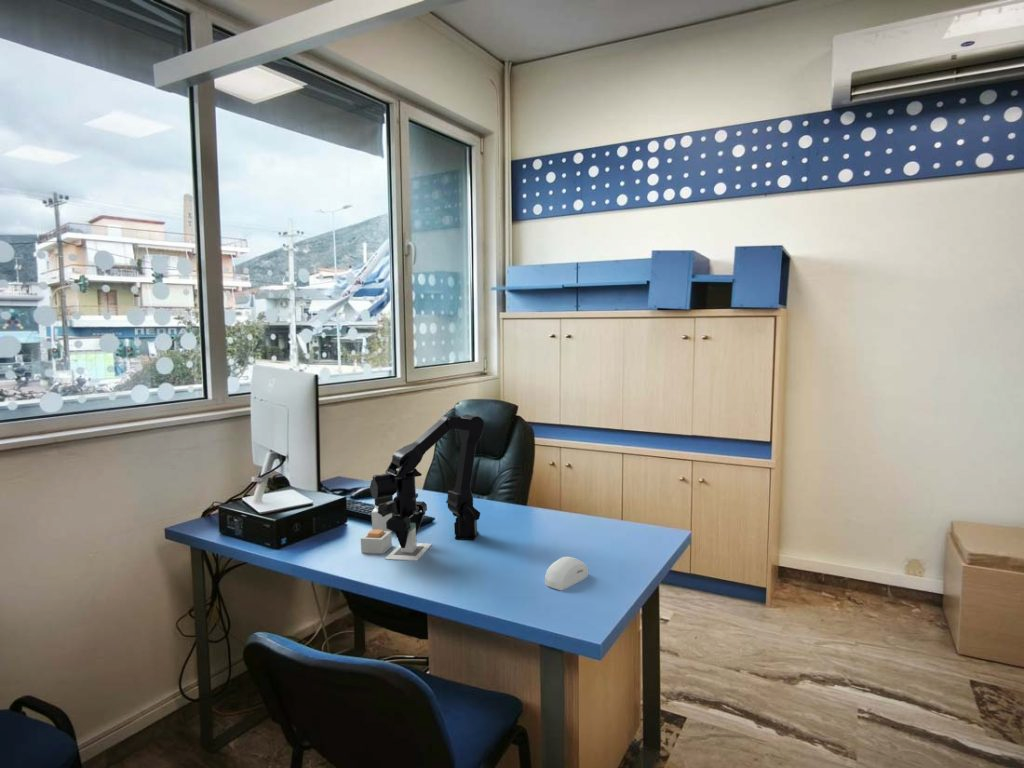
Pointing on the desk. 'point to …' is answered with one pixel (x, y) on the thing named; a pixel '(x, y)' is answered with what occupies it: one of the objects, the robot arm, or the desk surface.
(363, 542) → the button housing
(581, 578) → the computer mouse
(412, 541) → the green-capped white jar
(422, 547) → the white grey rectangular pad
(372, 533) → the button
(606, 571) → the desk surface
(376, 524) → the medicine bottle
